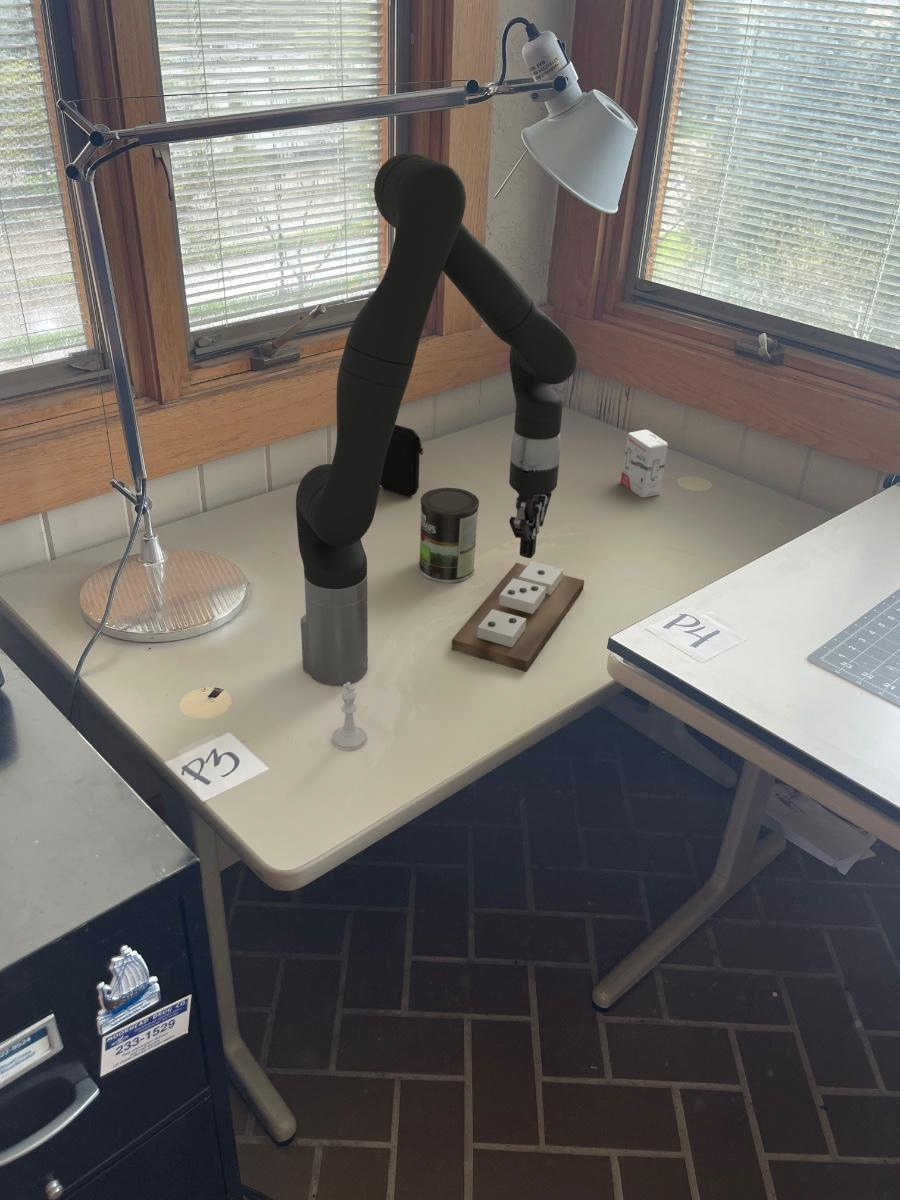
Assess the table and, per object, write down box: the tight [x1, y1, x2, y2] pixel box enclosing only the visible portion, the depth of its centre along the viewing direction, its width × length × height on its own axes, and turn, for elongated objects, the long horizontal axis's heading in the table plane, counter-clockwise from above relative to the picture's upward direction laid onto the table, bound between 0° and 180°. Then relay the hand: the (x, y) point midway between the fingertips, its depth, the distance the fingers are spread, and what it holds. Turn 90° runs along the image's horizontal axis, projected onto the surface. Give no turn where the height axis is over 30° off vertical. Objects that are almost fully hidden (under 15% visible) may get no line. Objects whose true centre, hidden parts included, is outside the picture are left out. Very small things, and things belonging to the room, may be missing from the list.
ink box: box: [620, 429, 669, 499], centre depth 214 cm, size 9×5×12 cm, turn 25°
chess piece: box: [331, 682, 368, 752], centre depth 141 cm, size 5×5×10 cm
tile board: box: [451, 562, 585, 673], centre depth 172 cm, size 13×28×2 cm, turn 155°
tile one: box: [519, 560, 564, 595], centre depth 177 cm, size 6×6×2 cm
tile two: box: [477, 609, 526, 647], centre depth 163 cm, size 6×6×2 cm
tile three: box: [499, 578, 546, 614], centre depth 170 cm, size 6×6×2 cm
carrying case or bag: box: [380, 424, 424, 497], centre depth 207 cm, size 11×3×15 cm, turn 58°
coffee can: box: [418, 487, 480, 584], centre depth 182 cm, size 10×10×14 cm
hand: (527, 555), depth 166 cm, fingers closed
